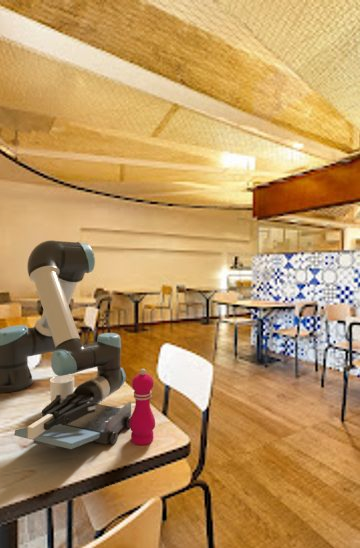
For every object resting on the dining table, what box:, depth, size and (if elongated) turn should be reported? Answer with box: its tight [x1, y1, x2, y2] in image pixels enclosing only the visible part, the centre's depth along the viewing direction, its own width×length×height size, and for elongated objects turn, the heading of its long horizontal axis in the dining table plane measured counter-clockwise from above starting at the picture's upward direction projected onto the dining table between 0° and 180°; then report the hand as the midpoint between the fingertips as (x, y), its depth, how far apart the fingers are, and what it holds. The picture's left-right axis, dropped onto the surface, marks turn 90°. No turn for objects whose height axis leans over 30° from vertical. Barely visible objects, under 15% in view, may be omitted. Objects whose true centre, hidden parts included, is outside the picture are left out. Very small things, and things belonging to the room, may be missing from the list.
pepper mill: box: [129, 368, 156, 446], centre depth 87 cm, size 7×7×20 cm
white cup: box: [49, 374, 75, 403], centre depth 105 cm, size 8×8×10 cm
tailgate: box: [13, 424, 100, 450], centre depth 79 cm, size 17×2×12 cm
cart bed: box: [60, 401, 132, 445], centre depth 93 cm, size 22×14×6 cm, turn 71°
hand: (30, 433), depth 71 cm, fingers closed
